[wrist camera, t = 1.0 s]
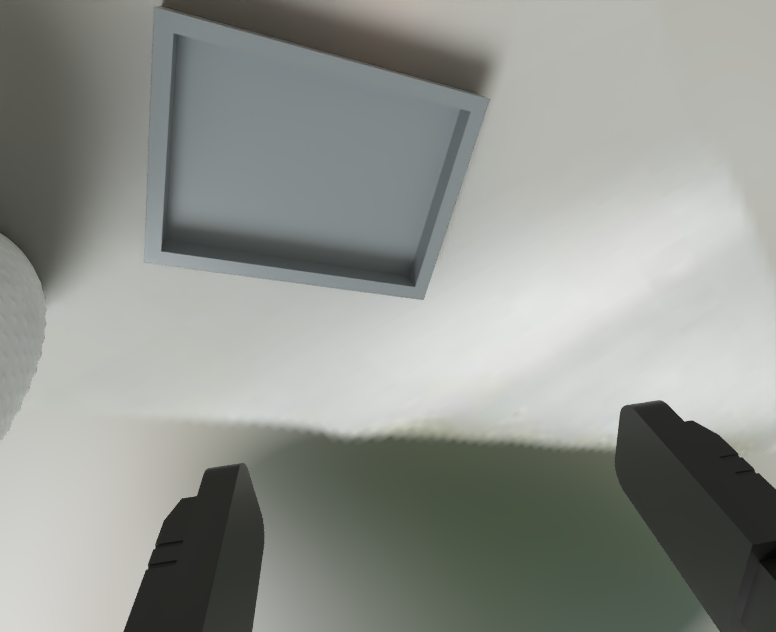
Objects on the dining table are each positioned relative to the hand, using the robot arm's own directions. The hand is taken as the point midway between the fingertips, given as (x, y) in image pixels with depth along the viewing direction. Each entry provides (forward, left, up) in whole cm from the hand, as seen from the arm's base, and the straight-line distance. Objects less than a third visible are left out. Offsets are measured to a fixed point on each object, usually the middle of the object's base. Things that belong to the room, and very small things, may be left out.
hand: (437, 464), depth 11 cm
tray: (-1, 0, -22) cm, 22 cm away
